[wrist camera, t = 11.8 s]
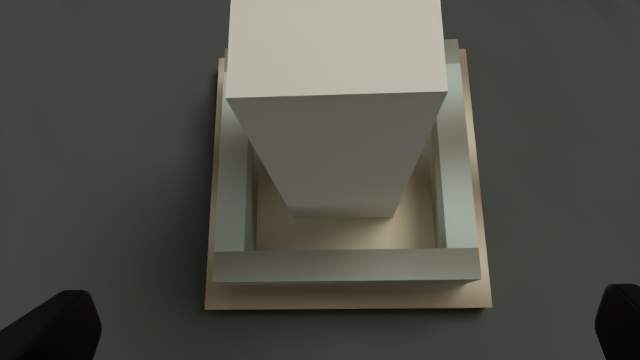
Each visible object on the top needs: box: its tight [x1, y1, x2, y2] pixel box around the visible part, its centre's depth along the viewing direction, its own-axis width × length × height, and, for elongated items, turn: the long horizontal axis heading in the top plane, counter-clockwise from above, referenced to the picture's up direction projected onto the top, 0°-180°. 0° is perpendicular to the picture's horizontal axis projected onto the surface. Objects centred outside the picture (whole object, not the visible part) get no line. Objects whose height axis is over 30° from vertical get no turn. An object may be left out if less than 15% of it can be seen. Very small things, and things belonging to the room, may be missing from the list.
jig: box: [205, 39, 492, 310], centre depth 21 cm, size 12×12×4 cm
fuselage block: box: [225, 0, 448, 219], centre depth 16 cm, size 4×4×12 cm
